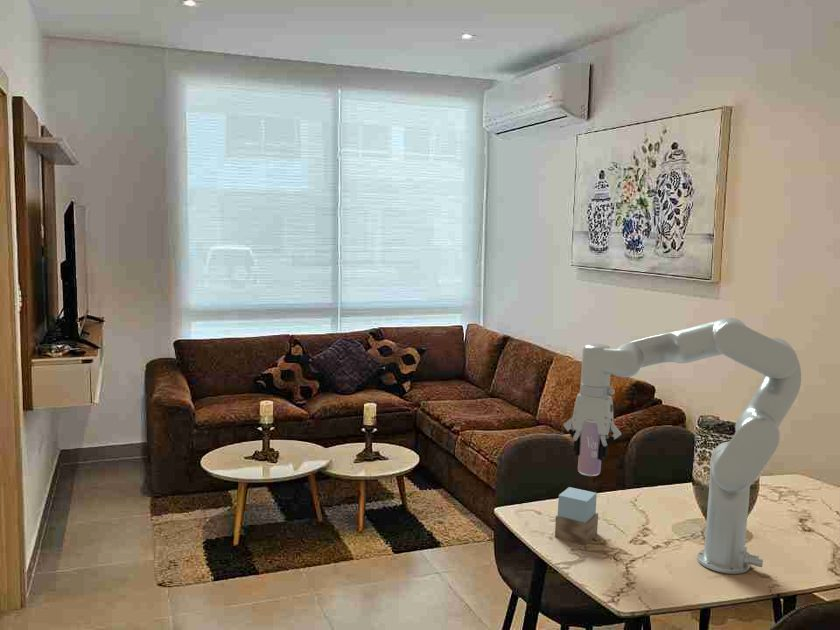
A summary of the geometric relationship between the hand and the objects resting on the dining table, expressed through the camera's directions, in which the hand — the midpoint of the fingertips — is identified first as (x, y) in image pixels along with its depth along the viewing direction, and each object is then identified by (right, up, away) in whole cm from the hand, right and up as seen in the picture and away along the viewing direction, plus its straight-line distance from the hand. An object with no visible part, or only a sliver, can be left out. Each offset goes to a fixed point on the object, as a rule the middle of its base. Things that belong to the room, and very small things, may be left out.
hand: (590, 456), depth 205 cm
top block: (-2, -17, +6) cm, 19 cm away
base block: (-2, -23, +7) cm, 25 cm away
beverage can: (0, -5, +1) cm, 5 cm away
